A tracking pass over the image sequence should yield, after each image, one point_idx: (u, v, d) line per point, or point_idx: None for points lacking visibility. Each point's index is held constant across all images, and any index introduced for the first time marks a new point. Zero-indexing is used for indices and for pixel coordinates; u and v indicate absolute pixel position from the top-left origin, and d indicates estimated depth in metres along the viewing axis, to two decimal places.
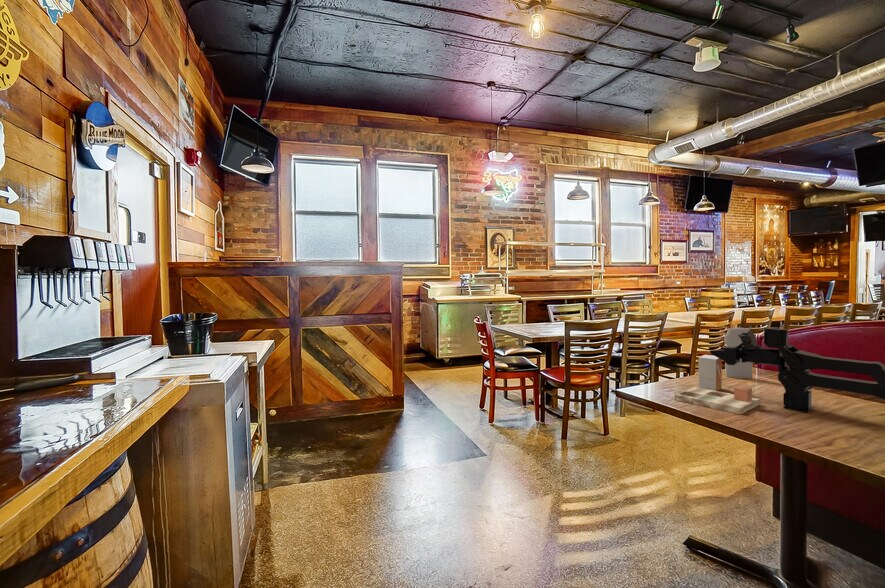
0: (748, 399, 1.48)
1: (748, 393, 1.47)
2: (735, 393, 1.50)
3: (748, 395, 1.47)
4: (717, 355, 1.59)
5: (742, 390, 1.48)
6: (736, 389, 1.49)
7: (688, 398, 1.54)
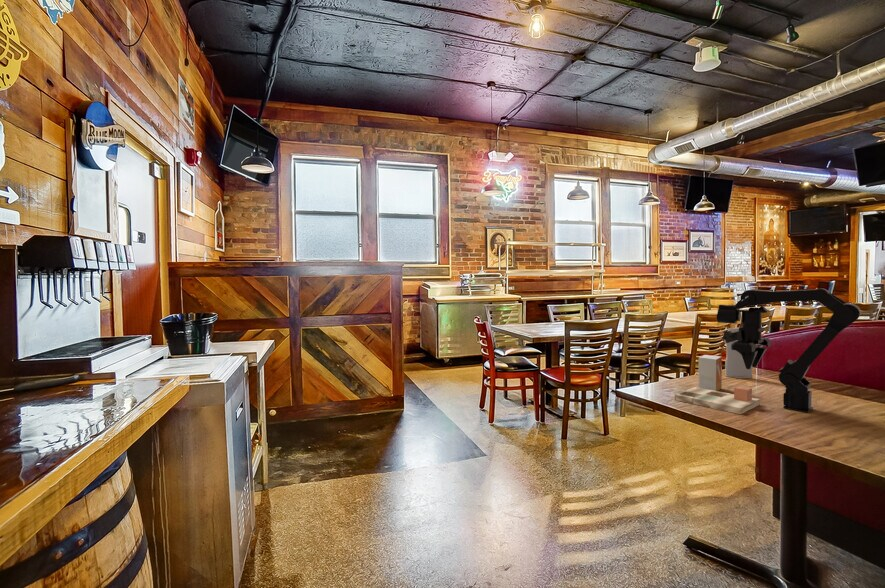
0: (748, 399, 1.48)
1: (748, 393, 1.47)
2: (735, 393, 1.50)
3: (748, 395, 1.47)
4: (749, 361, 1.50)
5: (742, 390, 1.48)
6: (736, 389, 1.49)
7: (688, 398, 1.54)
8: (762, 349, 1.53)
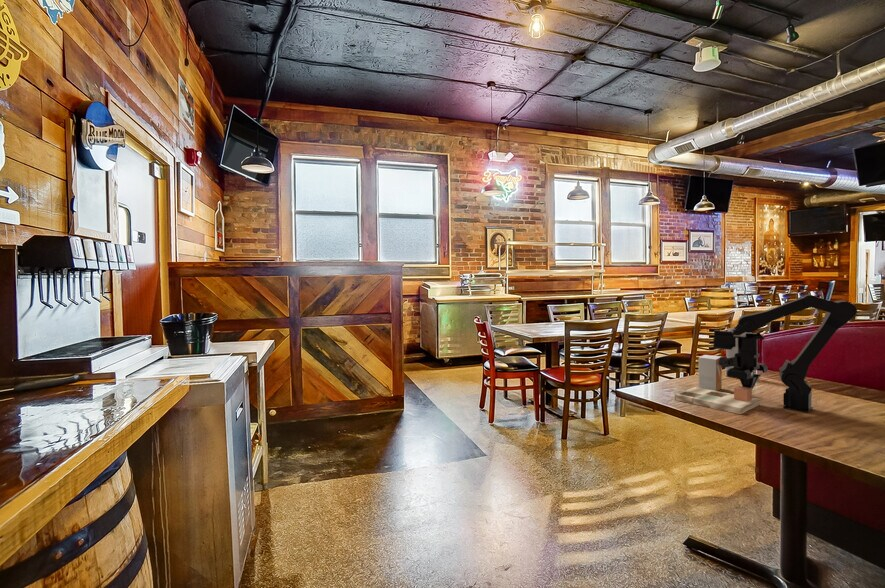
0: (748, 399, 1.48)
1: (748, 393, 1.47)
2: (735, 393, 1.50)
3: (748, 395, 1.47)
4: (748, 387, 1.50)
5: (742, 390, 1.48)
6: (736, 389, 1.49)
7: (688, 398, 1.54)
8: (755, 376, 1.50)
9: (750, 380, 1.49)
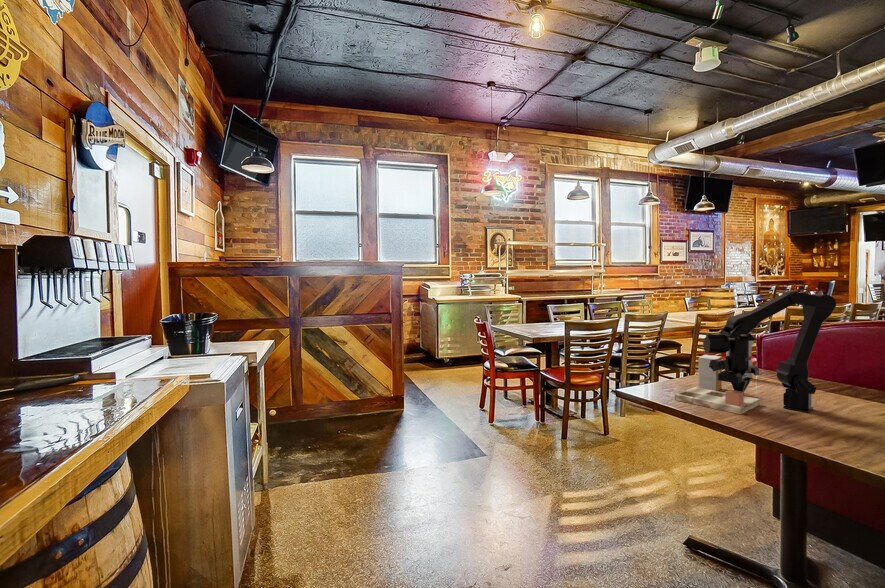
0: (740, 403, 1.43)
1: (740, 397, 1.43)
2: (727, 397, 1.45)
3: (739, 399, 1.43)
4: (740, 390, 1.46)
5: (733, 394, 1.44)
6: (727, 393, 1.45)
7: (688, 398, 1.54)
8: None
9: (741, 383, 1.45)
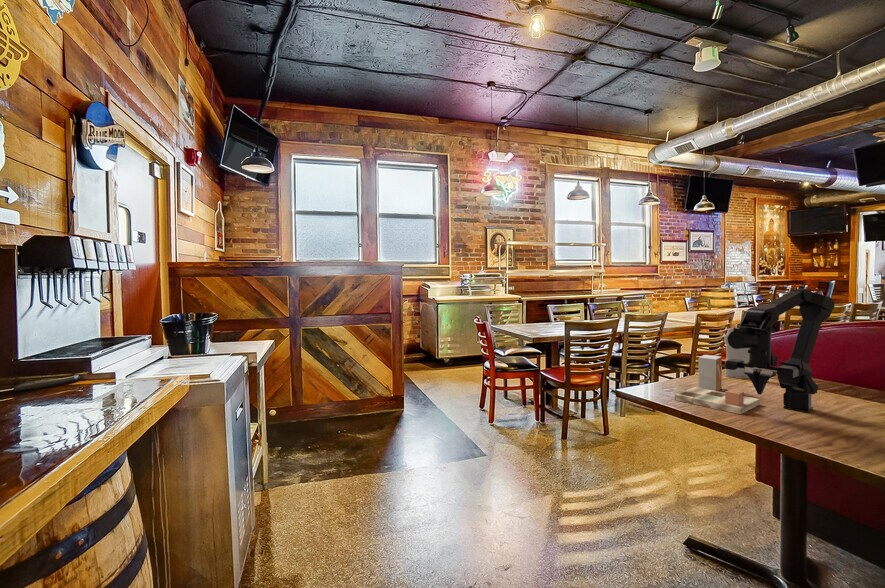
0: (739, 403, 1.43)
1: (739, 397, 1.43)
2: (727, 397, 1.45)
3: (739, 399, 1.43)
4: None
5: (733, 394, 1.44)
6: (727, 393, 1.45)
7: (688, 398, 1.54)
8: None
9: None
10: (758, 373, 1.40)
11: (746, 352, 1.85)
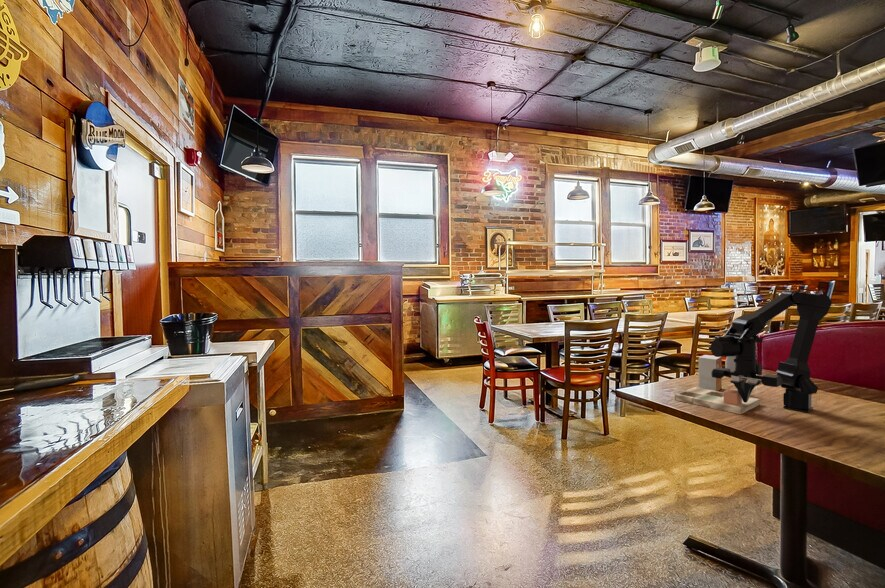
0: (738, 403, 1.44)
1: (738, 396, 1.44)
2: (725, 397, 1.46)
3: (738, 399, 1.44)
4: None
5: (732, 393, 1.44)
6: (725, 392, 1.46)
7: (688, 398, 1.54)
8: None
9: None
10: (744, 381, 1.44)
11: None
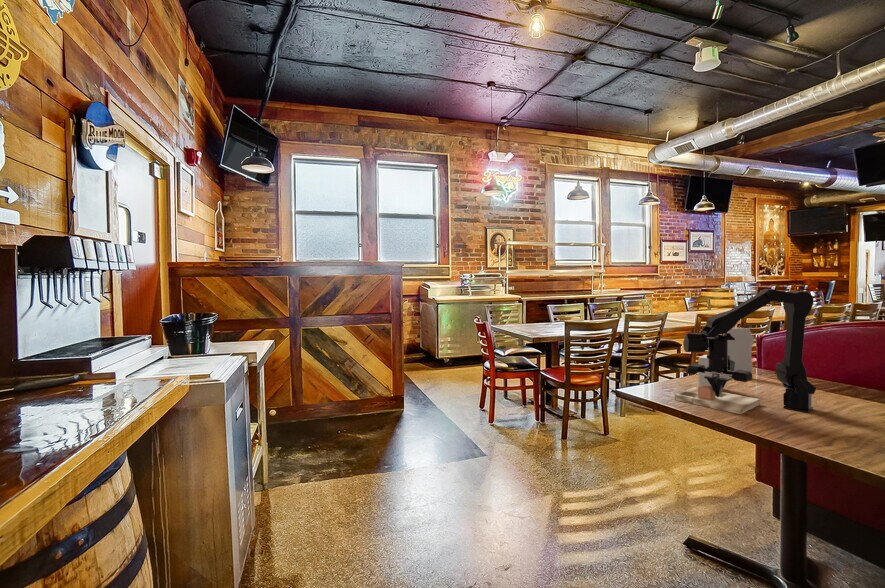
0: (711, 397, 1.50)
1: (711, 392, 1.50)
2: (699, 392, 1.53)
3: (711, 394, 1.50)
4: None
5: (705, 389, 1.51)
6: (700, 388, 1.52)
7: (688, 398, 1.54)
8: None
9: None
10: (717, 377, 1.50)
11: (746, 352, 1.85)
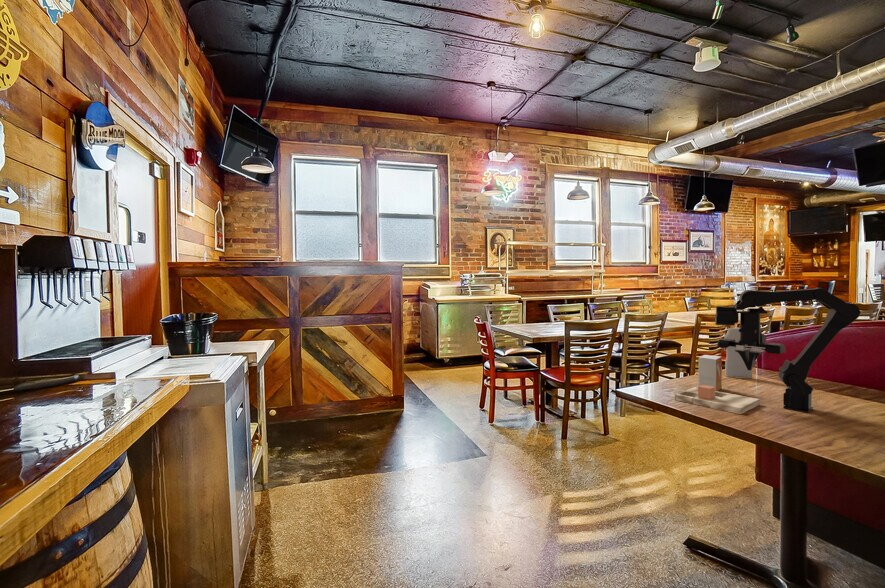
0: (711, 397, 1.50)
1: (711, 392, 1.50)
2: (699, 392, 1.53)
3: (711, 394, 1.50)
4: None
5: (705, 389, 1.51)
6: (700, 388, 1.52)
7: (688, 398, 1.54)
8: None
9: None
10: (748, 351, 1.51)
11: None
